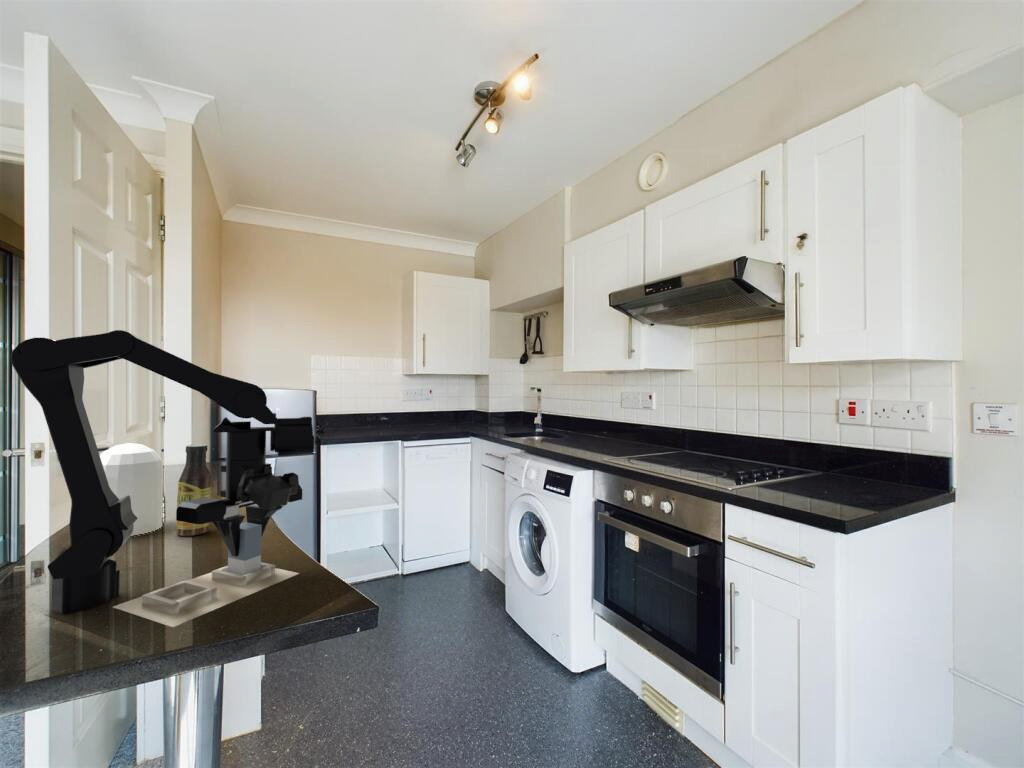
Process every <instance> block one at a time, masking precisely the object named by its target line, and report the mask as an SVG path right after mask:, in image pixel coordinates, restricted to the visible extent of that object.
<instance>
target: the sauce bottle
mask: <svg viewBox="0 0 1024 768" xmlns="http://www.w3.org/2000/svg"><path fill="white" fill-rule="evenodd" d="M185 452H186V455H185V457H186V459H185V464H184V468H183V470H182V472H181V475H180V477H179V479H178V480H177V481H178V483H177V496H176V497H177V499H176V509H177V508H178V506H179V505H180V504H181V502H183V501H188V500H193V499H198V498H203V497H206V498H212V497H211V496H212V485H211V483H212V475H211V474H212V473H211V471H210V470H209V468H208V467H207V461H206V460H207V452H208V444H203V443H202V444H201V443H199V444H198V443H196V444H188V445H186V447H185ZM175 522H176V523H175V527H176V535H177V536H178V537H179V536H180V537H182V536H183V537H192V536H198V535H202V534H206V533H207V532H208V531H209V529H210V528H209V525H210V522H209V523H205V524H193V523H187V522H182V521H176V520H175Z"/></svg>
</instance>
